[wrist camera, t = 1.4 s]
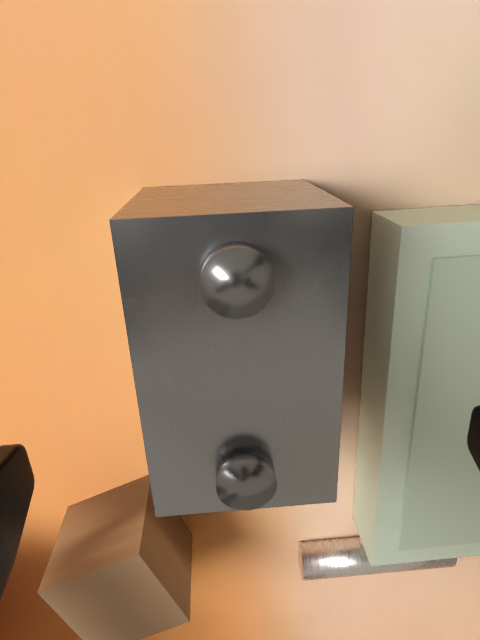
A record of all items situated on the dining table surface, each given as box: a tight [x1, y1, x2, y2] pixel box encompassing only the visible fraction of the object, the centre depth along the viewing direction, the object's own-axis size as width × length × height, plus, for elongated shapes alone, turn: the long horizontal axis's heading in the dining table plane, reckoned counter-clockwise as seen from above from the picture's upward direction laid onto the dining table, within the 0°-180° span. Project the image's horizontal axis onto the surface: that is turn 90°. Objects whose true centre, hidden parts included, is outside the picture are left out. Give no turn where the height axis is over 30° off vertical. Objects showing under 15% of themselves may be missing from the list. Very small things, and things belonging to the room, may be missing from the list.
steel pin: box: [299, 537, 457, 581], centre depth 21 cm, size 7×2×2 cm, turn 93°
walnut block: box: [37, 475, 192, 640], centre depth 18 cm, size 4×4×4 cm
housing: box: [110, 179, 353, 517], centre depth 14 cm, size 5×8×6 cm, turn 2°
